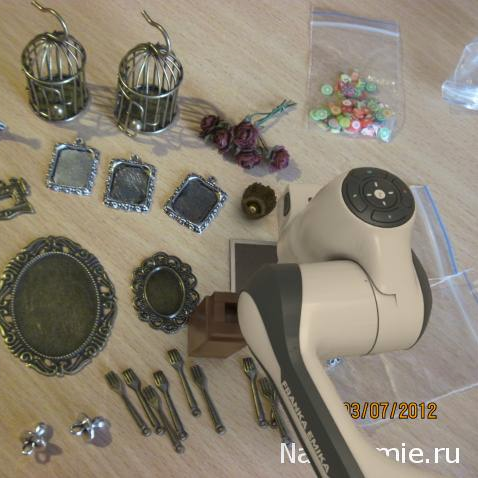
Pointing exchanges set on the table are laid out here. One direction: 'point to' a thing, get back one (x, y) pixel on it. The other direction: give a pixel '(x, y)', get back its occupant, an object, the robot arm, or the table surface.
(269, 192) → the cup
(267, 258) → the tablet
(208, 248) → the table surface
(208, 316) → the pen stand
